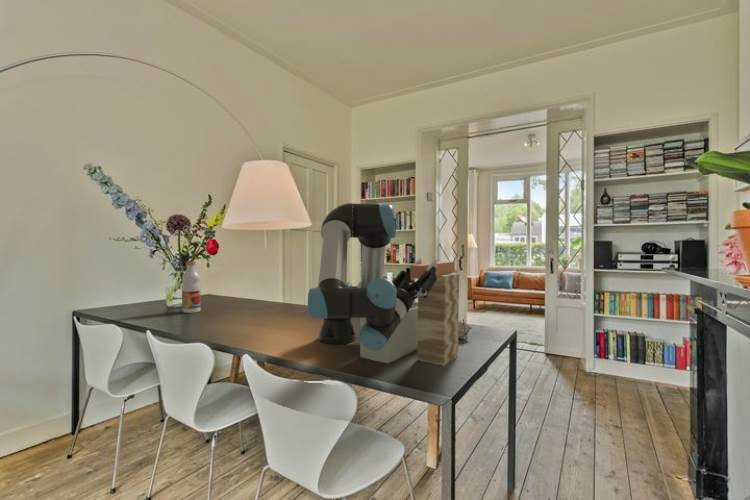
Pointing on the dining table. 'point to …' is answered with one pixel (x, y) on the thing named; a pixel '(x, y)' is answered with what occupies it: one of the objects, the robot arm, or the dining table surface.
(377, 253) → the robot arm
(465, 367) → the dining table surface
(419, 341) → the stand
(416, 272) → the beam
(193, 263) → the fruit juice
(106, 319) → the dining table surface
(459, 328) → the grey bushy clump
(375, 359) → the bin
